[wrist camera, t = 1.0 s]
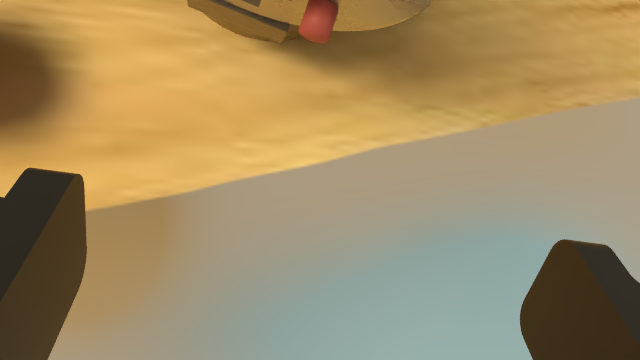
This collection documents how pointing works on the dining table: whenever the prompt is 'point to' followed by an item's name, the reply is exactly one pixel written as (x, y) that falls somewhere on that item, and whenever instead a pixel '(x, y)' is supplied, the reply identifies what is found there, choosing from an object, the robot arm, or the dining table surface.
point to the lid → (334, 14)
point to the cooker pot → (245, 21)
